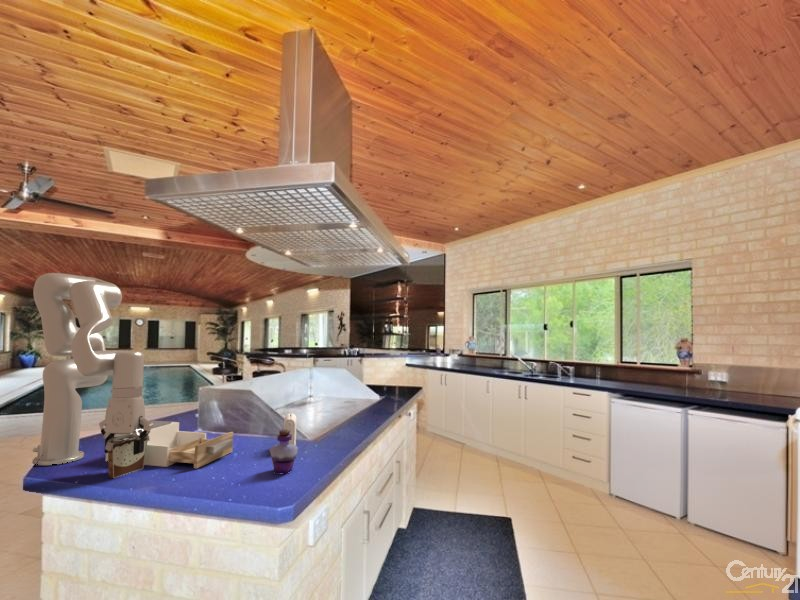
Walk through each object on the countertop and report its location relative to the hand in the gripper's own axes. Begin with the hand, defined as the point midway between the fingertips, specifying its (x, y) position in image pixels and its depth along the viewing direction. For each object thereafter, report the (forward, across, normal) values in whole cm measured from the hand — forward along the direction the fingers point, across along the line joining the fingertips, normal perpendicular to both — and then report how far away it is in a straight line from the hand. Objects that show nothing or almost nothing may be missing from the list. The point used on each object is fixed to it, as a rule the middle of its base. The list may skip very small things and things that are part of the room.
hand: (124, 452), depth 120 cm
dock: (+6, -3, +17) cm, 18 cm away
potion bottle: (+7, +44, +12) cm, 46 cm away
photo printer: (+7, +35, +35) cm, 50 cm away
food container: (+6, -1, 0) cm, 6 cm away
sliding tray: (+6, +14, +17) cm, 22 cm away
